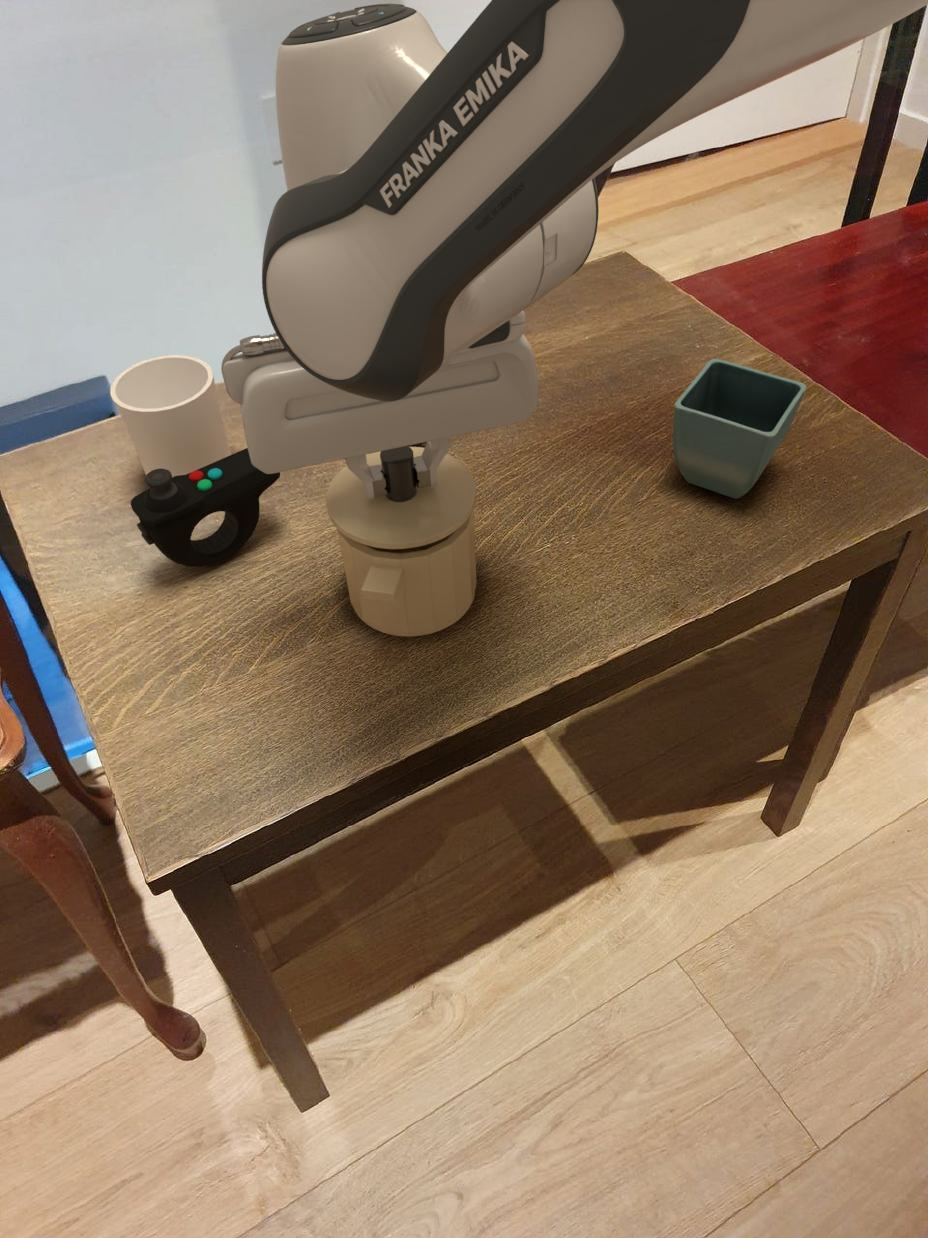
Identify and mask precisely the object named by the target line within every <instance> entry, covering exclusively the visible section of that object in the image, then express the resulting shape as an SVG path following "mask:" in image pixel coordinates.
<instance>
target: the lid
mask: <svg viewBox="0 0 928 1238" xmlns="http://www.w3.org/2000/svg"><path fill="white" fill-rule="evenodd" d="M424 449H425V447H422V446H421V447H420V446H410V445H409V446H404V447H399V448H394V449H390V450H385V451H380V452H375V453H370V454H366V460H367V464H368V465H369V466H375V465H380V466H381V468H382V473H383V474H384V477H385V480H386V490H387V495H386V496H382V497H378V498H373V499H367V496H366V493H365V489H364V485H363V482H362V481H361V480H360V479H359V478H358V477H357V476H356V475H355V474H354V473H353V472H352V471H351V470H349V469H348V467H347V464H346V465H345V466H343V467H342V468H341V469H340V470H339V471H338V472H337V473H336V474H335V476H334V477H333V478H332V479H331V481H330V483H329V485H328V487H327V490H326V494H325V505H326V509H327V514H328V515H327V516H328V518H330V522H331V523H332V524H333V526H334V527H335V528H336V530H337V529H338V530H339V531H340V532H341V533H343V534H344V535H345V536H347V537H348V538H350V539H352V540H354V541H356V542H359V543H361V544H364V545H367V546H371V547H376V548H383V549H406V548H414V547H419V546H423V545H427V544H430V543H433V542H436V541H438V540H440V539H443V538H444V537H446V536H448V535H450V534H451V533H453V532H454V531H456V530H457V529H458V528H459V527H461V526H462V525H463V524H464V523H465V522H466V520H467V519H468V518H469V516H470V515H471V513H472V511H473V510H474V509H475V507H476V503H477V486H476V481H475V479H474V477H473V474H472V472H471V471H470V470H469V468H467V466H466V465H465V464H463V463H462V462H461V461H460V460H458V459H457V458H455V457H454V456H452V455H450V454H448V453H446V455H445V456H444V458H443V460H442V461H441V463H440V465H439V466H438V468H436V471H437V485H433V486H428V487H423V488H417V485H416V475H415V465H414V457H418V456H422V453H423V451H424Z"/></svg>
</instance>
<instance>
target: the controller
mask: <svg viewBox="0 0 928 1238" xmlns="http://www.w3.org/2000/svg"><path fill="white" fill-rule="evenodd" d="M231 454H232V455H230V456H228V457H225V458H223V459H221V460H218V461H216V462H214V463H211V464H209V465H207V466H205V467H202V468H200V469H198V470H195V471H193V472H191V473H188V474H186V475H179V476H175V477H173V478H172V474H171V472H170V471H169V470H166V469H155V470H152V471H151V472H149V473H148V474H147V475H146V474H145V477H144V482H145V485H146V486H148V489H146V490H144V491H142V492H139V494H137V495H135V496H134V497H133V498H132V499H131V500H130V507H131V510H132V512H133V513H134V514H135V515H136V516H137V518H138V521H139V522H138V523H136V527H137V528H138V530H139V531H140V534H141V537H142V538H143V540H144V541H145V542H146V544H148V545H149V546H151V545H154V546H155V547H156V548H157V549H158V550H159V552H160V553H162V554H163V556H164V557H165V558H167V559H169V560H170V561H172V562H173V563H175V564H177V565H181V566H184V567H188V568H206V567H210V566H214V565H218V564H220V563H223V562H224V561H226V560H228V559H230V558H232V557H233V556H235V555H236V554H237V553H238V552H239V551H241V550H242V549H243V548H244V547H245V545H247V543H248V542H249V541H250V539H252V537H253V534H254V533H255V531H256V529H257V526H258V523H259V519H260V514H261V513H260V510H261V507H260V497H261V495H262V494H263V493H264V492H265V491H266V490H267V489H268V488H270V487H271V486H272V485H274V484H275V483H276V482H277V481H278V480H279V478H280V477H281V472H278V473H273V474H265V473H264V472H262V471H260V470H259V469H257V468H256V467H254V466H253V465H252V464H251V460H250V456H249V452H248V448H247V447H246V448H244V449H242V450H239V451H237V452H235V453H231ZM219 512H224V517H223V520H222V522H221V524H220V526H219V527H218V528H217V530H215V531H214V532H213V533H212V534H211V535H209V536H207V537H205V538H202V539H192V535H193V532H194V530H195V528H196V526H198V524H199V523H200V522H201V521H202V520H203V519H206V517H208V516H210V515H212V514H214V513H219Z"/></svg>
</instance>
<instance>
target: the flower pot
mask: <svg viewBox="0 0 928 1238" xmlns="http://www.w3.org/2000/svg"><path fill="white" fill-rule="evenodd" d="M806 390H807V385H806V384H805V383H804V382H800V381H798V380H794V379H791V378H786V377H784V376H779V375H775V374H772V373H769V372H765V371H762V370H759V369H755V368H751V367H748V366H745V365H741V364H737V363H734V362H731V361H728V360H724V359H720V358H712V359H709V360H708V362H706V364H705V365H704V367H703V368H702V369H701V370H700V372H699V373H698V374H697V376H696V377H695V378H694V379H693V381H692V382H691V383H690V384H689V385H688V387H687V388H686V389H685V390H684V391H683V392H682V393H681V395H680V396H679V397H678V398H677V400H676V401H675V402H674V405H673V423H672V450H673V451H672V452H673V457H674V460H675V461H674V462H675V464H676V467H677V468H678V470H679V472H680V473H681V475H682V477H683V478H684V479H685V481H686V483H688V484H691V485H694V486H697V487H698V488H699V487H700V488H701V489H705V490H708V491H711V492H713V493H716V494H719V495H722V496H725V497H728V498H731V499H734V500H739V499H740V498H741V497H743V496H744V495H746V494H747V493H748V492H749V491H750V490H751V489H752V488H753V487H754V486H755V484H756V483H757V481H758V480H759V478H760V477H761V476H762V473H763V472H764V470H765V469H766V467H767V466H768V464H769V462H770V461H771V459H772V458H773V456H774V455H775V453H776V452H777V450H778V449H779V447H780V446H781V444H782V443H783V441H784V439H785V437H786V436H787V434H788V432H789V430H790V428H791V426H792V423H793V421H794V419H795V416H796V414H797V412H798V410H799V407H800V405H801V402H802V400H803V398H804V395H805V392H806Z"/></svg>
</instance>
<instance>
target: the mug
mask: <svg viewBox="0 0 928 1238" xmlns="http://www.w3.org/2000/svg"><path fill="white" fill-rule="evenodd" d="M110 397H111V399H112V401H113V403H114V405H115V408H116V409H117V411H118V413H119V415H120V418H121V420H122V421H123V423H124V425H125V429H126V431H127V433H128V435H129V437H130V441H131V442H132V444H133V446H134V450H135V452H136V454H137V457H138V459H139V461H140V464H141V467H142V469H143V471H144V474H145V476H146V475H147V474H148V473H149V472H151V471H152V470H155V469H166V470H169V471H170V472H171V474H172V478H173V477H175V476H179V475H186V474H188V473H191V472H193V471H195V470H198V469H200V468H202V467H205V466H207V465H209V464H211V463H214V462H216V461H218V460H221V459H223V458H225V457H228V456H230V455H232V454H233V453H232V451H231V447H230V443H229V438H228V435H227V431H226V428H225V423H224V418H223V415H222V411H221V407H220V404H219V399H218V394H217V387H216V383H215V377H214V372H213V369H212V368H211V366H210V365H209V364H208V363H207V362H206V361H204V360H203V359H200V358H197V357H194V356H190V355H181V354H175V355H174V354H172V355H171V354H170V355H163V356H162V355H161V356H156V357H152V358H149V359H146V360H140V361H137V362H135V363H134V364H132V365H131V366H129V367H127V368H126V369H125V370H123V371H121V372H120V374H118V375H117V376H116V378H115V379H114V380H113V382H112V384H111V386H110Z"/></svg>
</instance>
